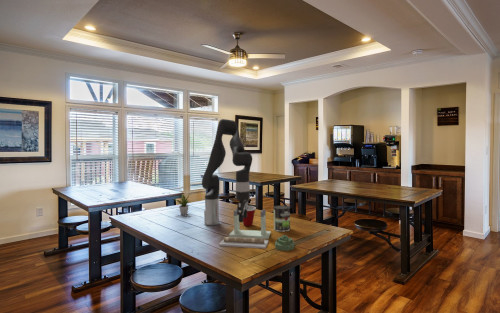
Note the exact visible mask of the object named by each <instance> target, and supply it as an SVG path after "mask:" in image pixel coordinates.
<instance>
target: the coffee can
mask: <svg viewBox="0 0 500 313" xmlns="http://www.w3.org/2000/svg"><path fill="white" fill-rule="evenodd" d="M273 230H274V231H276V232H281V233H284V232H285V231H286V232H289V231H291V206H288V205H283V204H282V205H280V204H279V205H274V206H273ZM286 232H285V233H286Z"/></svg>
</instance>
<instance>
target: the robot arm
mask: <svg viewBox="0 0 500 313" xmlns="http://www.w3.org/2000/svg"><path fill="white" fill-rule="evenodd" d="M224 135H226V136H232V137H231V139H230V140H229V148H230V150H231V153H232V154H231V155H232V164H233V165H234V166H236V167H243V168H242V169H239V170H237V171H235V199H236V200H239V201H238V202H237V204H236V206H237V208H236V209H237V215H239V222H240V223H243V218H247V210H248V206H249V200H250V196H251V190H250V189H251V188H250V171H251V167H252V163H253V156H252V154H251V153H250V152H246V151H245V150H246V148H245V147H244V144H243V143H242V140H241V137H240V132H239V127H238V124H237V121H235V120H232V119H227V118H226V119H225V118H221V119H219V122H218V123H217V129H216V134H215V139H214V142H213V146H212V147H211V148H212V149H211V152H210V154H209V160H208V162H207V165H206V168H205V171H204V173H203V176H202V180H201V186H202V188H203V189H205V190H210V191H209V192H207V193H206V194H205V195H204V205H205V206H204V208H205V209H203V210H204V212H203V213H204V214H203V215H204V216H203V217H204V225H206V226H216V225H217V226H218V225H220V201H219V198H220V197H219V196H220V177H219V176H218V174H214V173H215V172H216V171H217V170H218V169H219V168H221V166H222V165H223V163H224V161H225V158H226V155H227V153H226V148H225V146H224V143H223V136H224Z"/></svg>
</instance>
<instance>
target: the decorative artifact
mask: <svg viewBox="0 0 500 313" xmlns="http://www.w3.org/2000/svg"><path fill="white" fill-rule="evenodd" d="M274 248H275V249H276V250H278V251H283V252H284V251H285V252H286V251H288V252H289V251H293V250H294V249H295V241H294V240H293V238H291V237H289V236H288V235H286V234H283V235H281V236H279V237H278V238H276V241H275V242H274Z"/></svg>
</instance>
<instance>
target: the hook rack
mask: <svg viewBox="0 0 500 313" xmlns="http://www.w3.org/2000/svg"><path fill="white" fill-rule="evenodd" d="M266 214H267V213H266V209H261V211H260V230H254V229H253V230H252V229H240V223H241V222H239V215H237V208H235V209H234V210H233V230H232V231H231V232H230V233H228V237H238V238H258V239H264V240H269V238H270V237H271V233H272V231H270V230H267V225H266V224H267V220H266V219H267V218H266Z"/></svg>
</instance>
